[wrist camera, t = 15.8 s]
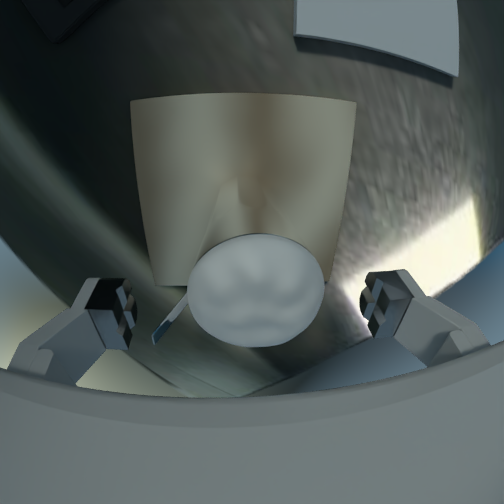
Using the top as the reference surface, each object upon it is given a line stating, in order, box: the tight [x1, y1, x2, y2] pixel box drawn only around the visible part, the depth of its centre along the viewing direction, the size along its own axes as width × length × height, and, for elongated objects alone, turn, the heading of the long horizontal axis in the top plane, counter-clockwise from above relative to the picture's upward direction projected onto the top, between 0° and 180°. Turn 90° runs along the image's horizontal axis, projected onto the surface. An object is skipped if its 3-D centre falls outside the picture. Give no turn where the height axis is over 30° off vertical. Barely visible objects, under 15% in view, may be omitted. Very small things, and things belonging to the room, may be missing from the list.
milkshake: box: [151, 175, 324, 347], centre depth 12 cm, size 5×5×10 cm
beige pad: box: [130, 93, 356, 286], centre depth 16 cm, size 12×12×1 cm
